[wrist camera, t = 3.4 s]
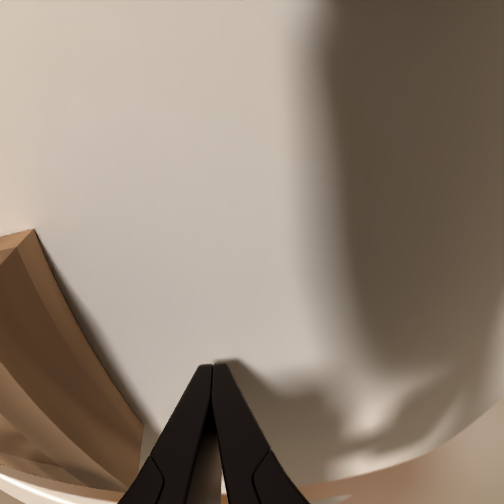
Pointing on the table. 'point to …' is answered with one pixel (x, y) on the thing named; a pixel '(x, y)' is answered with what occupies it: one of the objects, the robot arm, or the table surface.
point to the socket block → (56, 383)
